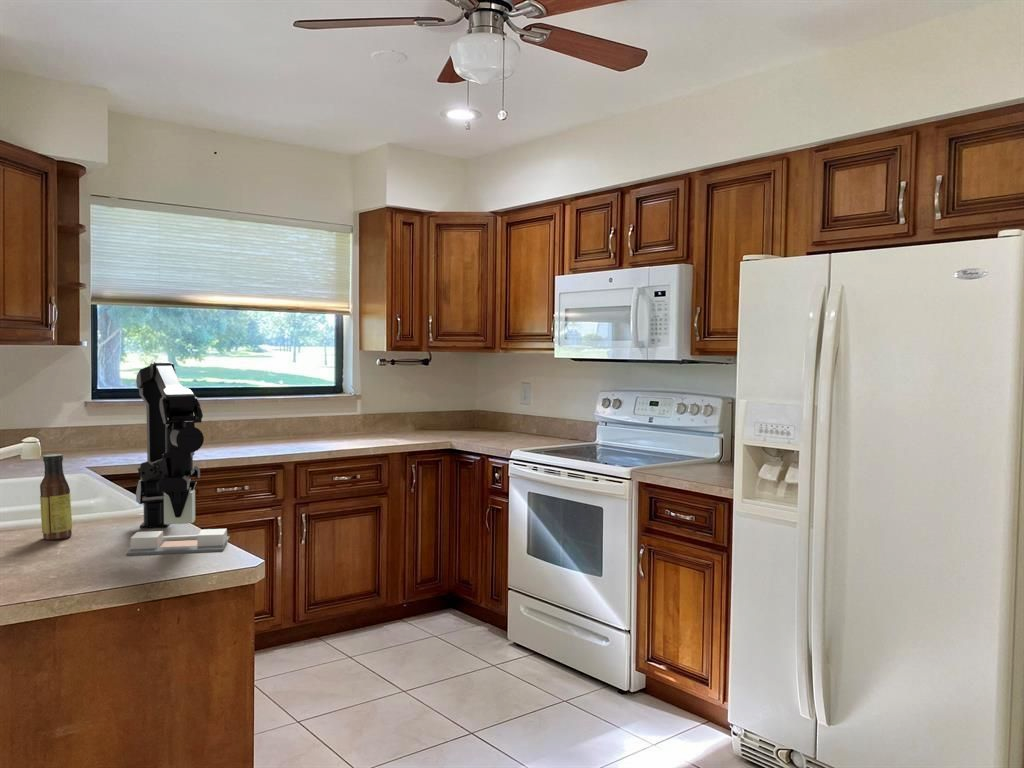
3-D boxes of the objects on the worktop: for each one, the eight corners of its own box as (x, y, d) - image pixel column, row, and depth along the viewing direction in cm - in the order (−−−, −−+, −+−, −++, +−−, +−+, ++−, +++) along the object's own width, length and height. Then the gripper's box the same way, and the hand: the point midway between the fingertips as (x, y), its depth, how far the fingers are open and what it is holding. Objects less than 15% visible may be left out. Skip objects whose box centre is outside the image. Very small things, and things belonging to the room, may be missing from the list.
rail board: (139, 542, 185) (139, 529, 185) (229, 538, 189) (229, 525, 189) (126, 555, 173) (126, 541, 173) (222, 551, 178) (222, 537, 177)
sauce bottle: (77, 534, 191) (76, 453, 190) (63, 541, 185) (62, 456, 184) (49, 534, 191) (48, 452, 190) (35, 540, 185) (33, 456, 184)
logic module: (167, 520, 182) (167, 489, 182) (195, 519, 184) (195, 489, 183) (163, 524, 178) (163, 493, 178) (192, 523, 180) (192, 492, 179)
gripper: (150, 443, 187) (150, 508, 188) (130, 453, 169) (131, 525, 170) (200, 442, 190) (200, 506, 191) (186, 452, 172) (186, 523, 172)
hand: (179, 515), depth 181 cm, fingers closed on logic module, 4 cm apart
